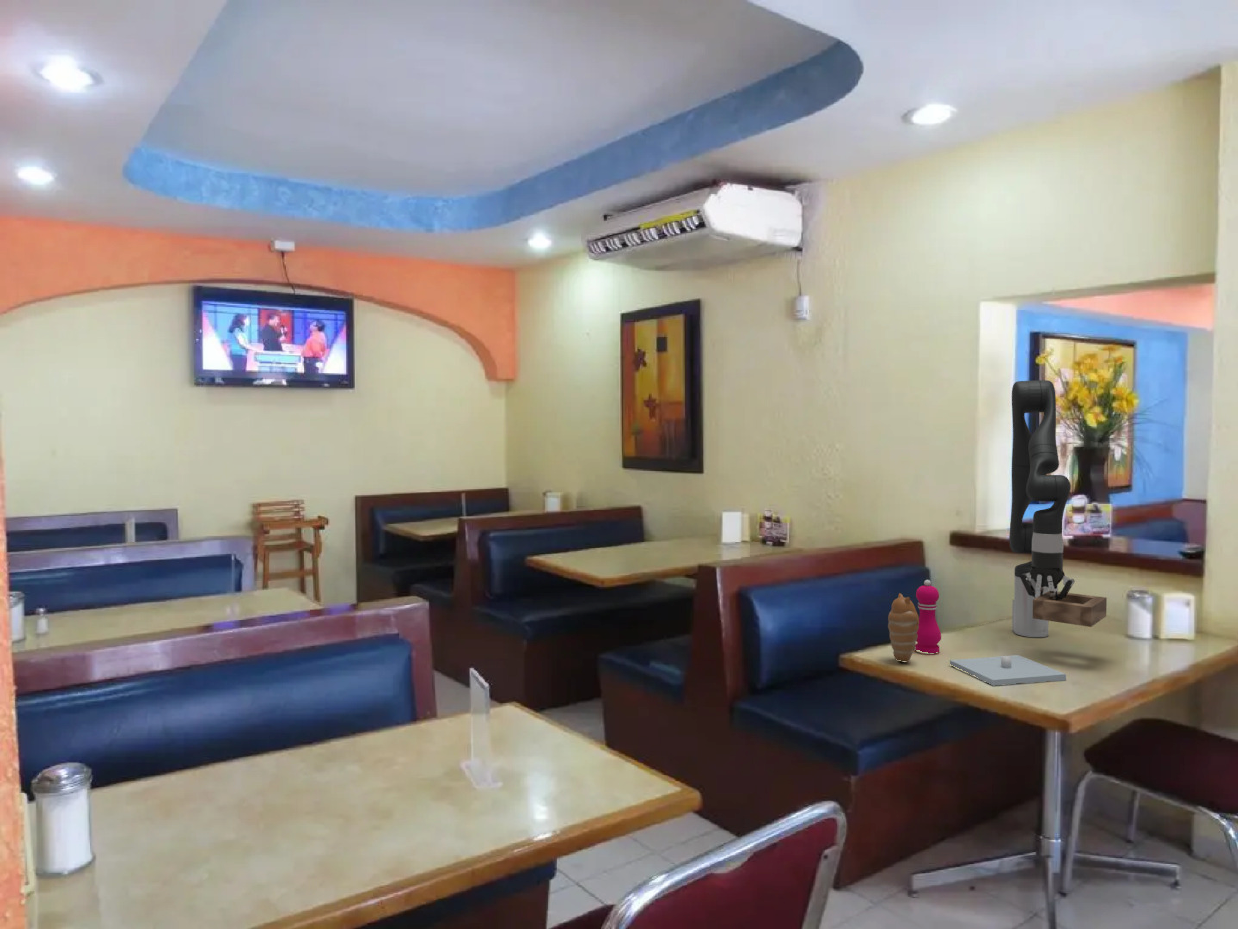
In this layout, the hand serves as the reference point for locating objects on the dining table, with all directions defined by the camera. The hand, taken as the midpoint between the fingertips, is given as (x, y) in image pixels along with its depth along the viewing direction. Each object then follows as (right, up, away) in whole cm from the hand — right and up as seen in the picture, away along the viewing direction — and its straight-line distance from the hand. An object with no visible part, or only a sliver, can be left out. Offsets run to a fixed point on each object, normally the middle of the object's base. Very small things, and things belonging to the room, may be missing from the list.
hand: (1046, 612), depth 233 cm
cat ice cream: (-40, -13, -4) cm, 42 cm away
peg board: (-17, -13, -14) cm, 26 cm away
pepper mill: (-30, -12, +7) cm, 33 cm away
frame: (+4, 0, -4) cm, 6 cm away
